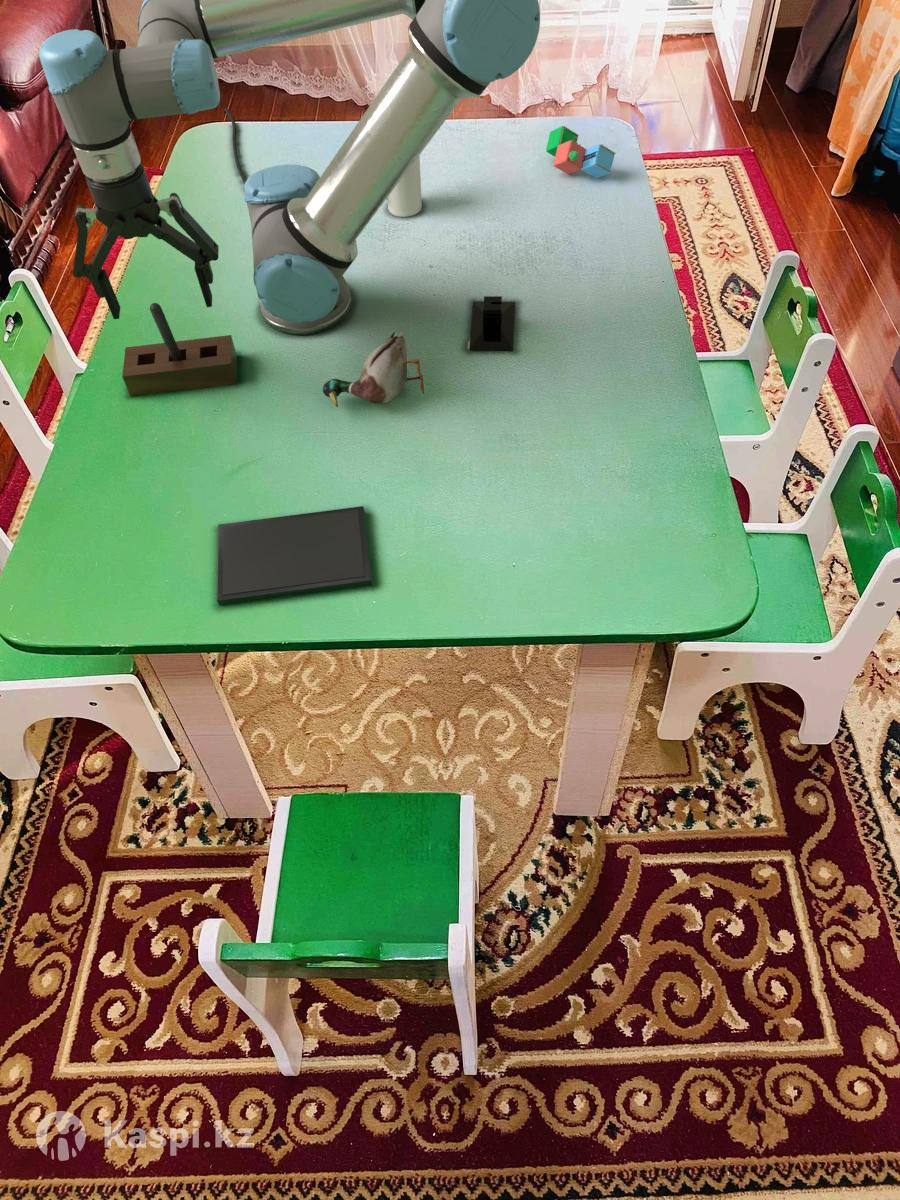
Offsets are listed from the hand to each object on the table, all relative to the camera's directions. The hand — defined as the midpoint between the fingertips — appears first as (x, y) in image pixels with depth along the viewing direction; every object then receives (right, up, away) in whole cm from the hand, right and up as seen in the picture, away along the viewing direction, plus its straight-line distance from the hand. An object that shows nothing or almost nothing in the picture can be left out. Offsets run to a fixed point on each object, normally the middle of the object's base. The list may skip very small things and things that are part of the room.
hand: (163, 307), depth 136 cm
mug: (+32, +29, +36) cm, 56 cm away
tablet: (+21, -37, -12) cm, 45 cm away
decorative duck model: (+31, -10, +7) cm, 33 cm away
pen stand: (0, -7, +10) cm, 13 cm away
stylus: (0, -7, +10) cm, 13 cm away
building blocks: (+67, +40, +42) cm, 88 cm away
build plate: (+49, +1, +15) cm, 51 cm away
